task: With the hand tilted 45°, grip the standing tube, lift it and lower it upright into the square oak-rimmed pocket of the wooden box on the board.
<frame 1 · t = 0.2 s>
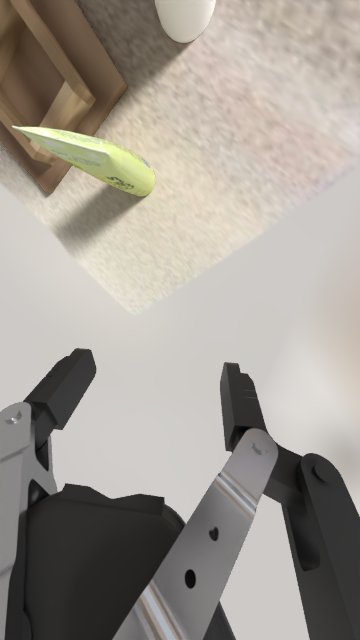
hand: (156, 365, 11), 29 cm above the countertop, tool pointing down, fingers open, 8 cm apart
tube: (140, 178, 31), on the countertop
wooden box on board: (49, 98, 28), on the countertop
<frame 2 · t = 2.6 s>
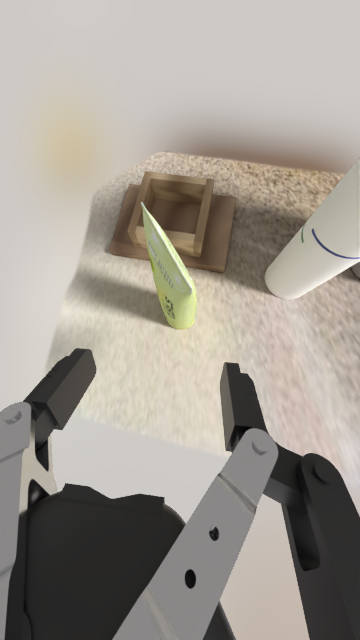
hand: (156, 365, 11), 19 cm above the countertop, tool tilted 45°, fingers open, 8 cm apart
tube: (180, 314, 32), on the countertop
wooden box on board: (174, 229, 35), on the countertop
cylindrical container: (285, 279, 32), on the countertop
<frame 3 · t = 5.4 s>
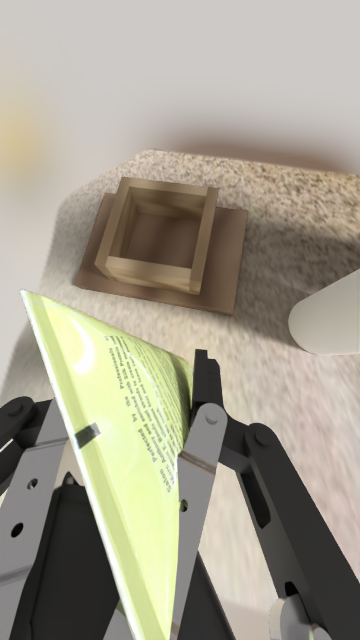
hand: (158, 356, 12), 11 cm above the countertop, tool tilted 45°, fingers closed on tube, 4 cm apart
tube: (172, 374, 23), on the countertop, touching gripper
wooden box on board: (164, 253, 26), on the countertop
cylindrical container: (317, 325, 23), on the countertop
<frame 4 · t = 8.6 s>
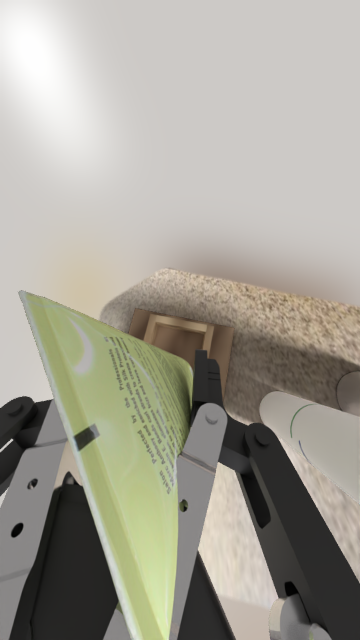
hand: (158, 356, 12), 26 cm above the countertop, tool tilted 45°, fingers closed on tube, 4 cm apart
tube: (172, 375, 23), point 14 cm above the countertop, touching gripper
wooden box on board: (176, 353, 37), on the countertop
cylindrical container: (278, 411, 35), on the countertop
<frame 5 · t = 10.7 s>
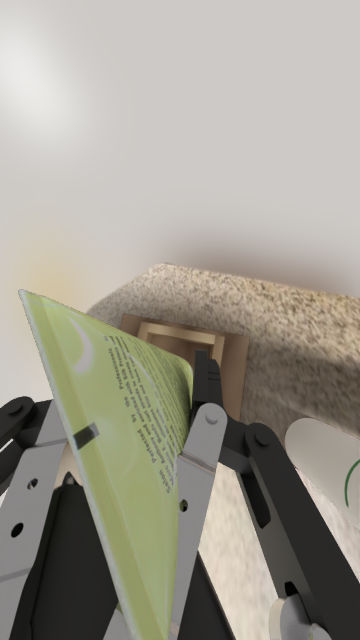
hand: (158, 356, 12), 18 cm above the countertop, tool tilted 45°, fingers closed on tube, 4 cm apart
tube: (172, 375, 23), point 7 cm above the countertop, touching gripper
wooden box on board: (176, 370, 30), on the countertop
cylindrical container: (310, 444, 27), on the countertop
when the fingers open (14 cm above the countertop, at t = 12.1 s): tube drops 2 cm, resting on wooden box on board.
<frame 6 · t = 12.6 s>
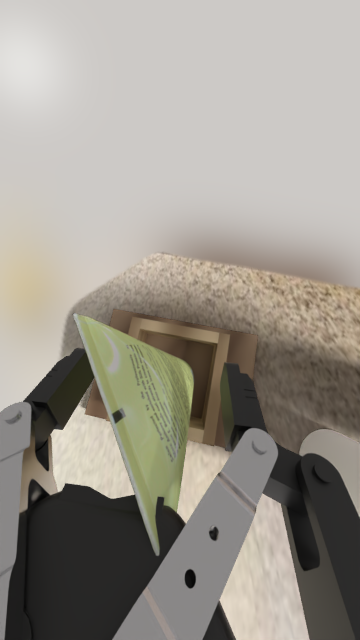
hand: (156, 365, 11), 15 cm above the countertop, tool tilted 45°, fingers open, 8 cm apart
tube: (174, 375, 25), point 1 cm above the countertop, touching wooden box on board
wooden box on board: (174, 373, 26), on the countertop
cylindrical container: (328, 460, 23), on the countertop
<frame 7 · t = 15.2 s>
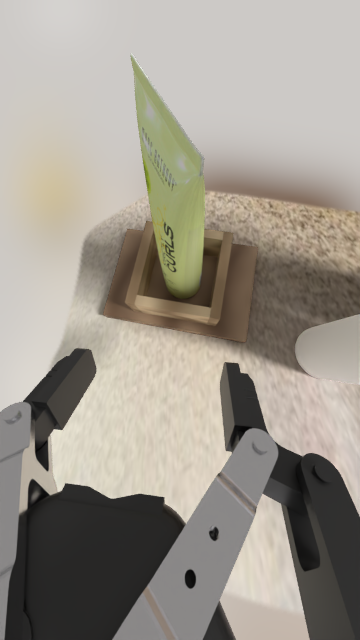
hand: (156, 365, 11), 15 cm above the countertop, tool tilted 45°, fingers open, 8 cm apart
tube: (182, 282, 27), point 1 cm above the countertop, touching wooden box on board
wooden box on board: (182, 284, 29), on the countertop
cylindrical container: (321, 352, 26), on the countertop
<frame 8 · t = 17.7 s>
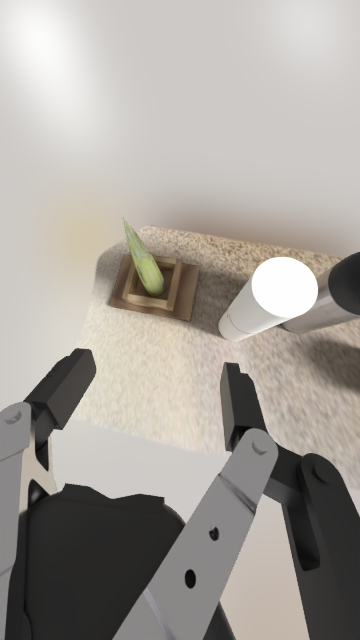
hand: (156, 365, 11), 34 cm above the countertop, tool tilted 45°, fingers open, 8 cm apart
tube: (155, 286, 47), point 1 cm above the countertop, touching wooden box on board
wooden box on board: (156, 287, 49), on the countertop
cylindrical container: (233, 326, 46), on the countertop
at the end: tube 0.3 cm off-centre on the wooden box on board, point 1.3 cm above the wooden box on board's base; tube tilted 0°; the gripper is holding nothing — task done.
